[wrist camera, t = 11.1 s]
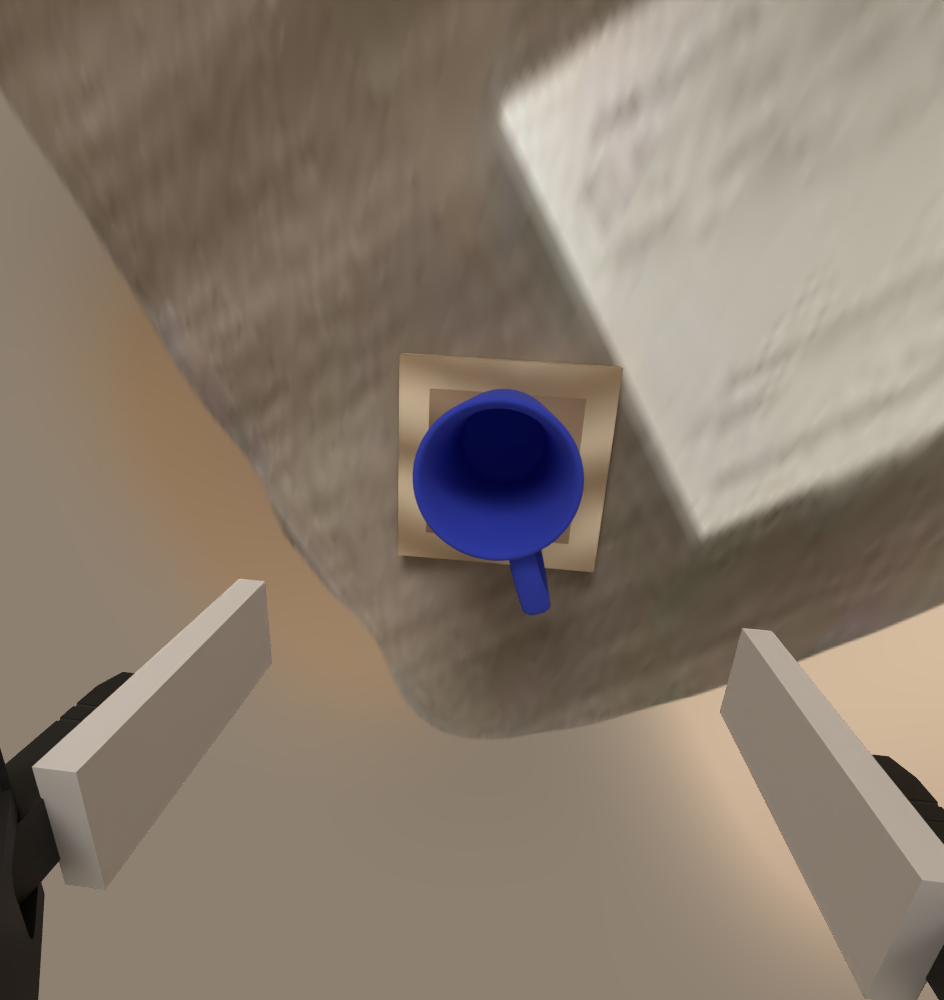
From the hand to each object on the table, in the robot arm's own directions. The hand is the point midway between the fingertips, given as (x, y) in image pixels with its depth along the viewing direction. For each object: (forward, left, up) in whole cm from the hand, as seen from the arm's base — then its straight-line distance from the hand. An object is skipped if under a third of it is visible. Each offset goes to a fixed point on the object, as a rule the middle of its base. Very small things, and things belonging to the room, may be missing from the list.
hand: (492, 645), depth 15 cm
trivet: (+1, -1, -23) cm, 23 cm away
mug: (+1, 0, -22) cm, 22 cm away
